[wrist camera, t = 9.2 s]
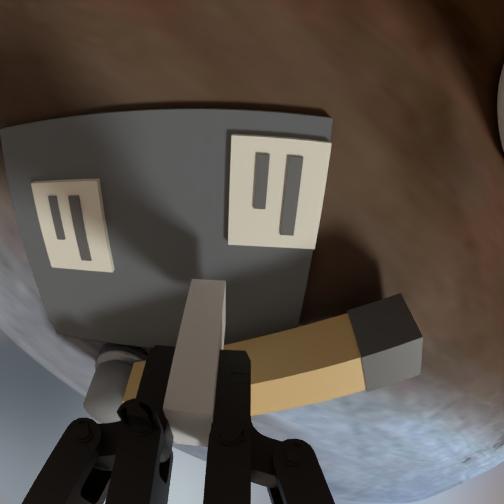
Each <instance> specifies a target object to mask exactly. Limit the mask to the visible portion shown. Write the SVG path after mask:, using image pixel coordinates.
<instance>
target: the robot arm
mask: <svg viewBox="0 0 504 504" xmlns="http://www.w3.org/2000/svg"><path fill="white" fill-rule="evenodd" d="M225 325H226V281H224V280H206V279H192V281H191V285H190V289H189V293H188V297H187V301H186V305H185V309H184V313H183V318H182V322H181V326H180V330H179V335H178V339H177V344H176V347H173V346H163V345H155V346H154V347H153V349H152V350H151V351H150V352H149V353H148V355H147V359H146V362H145V367H144V369H143V373H142V377H141V380H140V384H139V388H138V391H137V395H136V398H133V399H130V400H127V401H125V402H124V403H122V404H121V405H120V406H119V408H118V410H117V414H118V416H119V418H120V419H121V420H120V421H117V422H111V423H102V424H97V423H96V422H95V421H93V420H92V419H89V418H78V419H76V420H74V421H73V422H72V423H71V424H70V425H69V426H68V427H67V429H66V430H65V432H64V434H63V435H62V437H61V438H60V440H59V442H58V443H57V445H56V446H55V448H54V450H53V451H52V453H51V455H50V456H49V458H48V460H47V461H46V463H45V465H44V466H43V468H42V470H41V471H40V473H39V475H38V476H37V478H36V480H35V481H34V483H33V485H32V487H31V488H30V490H29V492H28V494H27V495H26V497H25V499H24V501H23V502H22V504H103V503H104V501H105V499H106V503H105V504H167V502H168V494H169V486H170V478H171V471H172V463H173V452H172V444H173V439H174V442H175V443H177V444H185V445H195V446H206V447H208V452H207V465H206V475H205V488H204V500H203V504H251V503H250V501H251V482H253V483H256V484H259V485H262V486H266V487H267V490H268V493H269V496H270V499H271V502H272V504H335V503H334V500H333V498H332V495H331V493H330V490H329V488H328V485H327V483H326V480H325V478H324V475H323V473H322V470H321V467H320V465H319V462H318V460H317V457H316V455H315V452H314V450H313V449H312V447H311V446H310V445H309V444H308V443H306V442H305V441H303V440H299V439H287V440H285V441H278V440H275V439H272V438H268V437H266V436H264V435H262V434H260V433H259V432H258V431H257V430H256V429H255V428H254V427H253V424H252V422H251V360H250V358H249V356H248V354H247V352H246V351H242V350H223V348H224V336H225Z"/></svg>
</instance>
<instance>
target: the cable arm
mask: <svg viewBox="0 0 504 504" xmlns="http://www.w3.org/2000/svg"><path fill="white" fill-rule="evenodd" d="M422 342H423V337H422V335H421V332H420V330H419V328H418V326H417V324H416V322H415V320H414V318H413V316H412V314H411V312H410V310H409V308H408V306H407V304H406V303H405V301H404V299H403V297H402V295H401V293H400V294H397V295H394V296H391V297H388V298H385V299H382V300H379V301H376V302H372V303H369V304H366V305H363V306H360V307H356V308H353V309H350V310H347V313H346V314H343V315H339V316H336V317H333V318H329V319H326V320H322V321H319V322H315V323H311V324H308V325H304V326H300V327H297V328H293V329H289V330H285V331H281V332H278V333H274V334H270V335H266V336H262V337H258V338H253V339H249V340H245V341H241V342H236V343H232V344H227V345H224V348H223V350H242V351H246V352H247V354H248V356H249V358H250V360H251V416H253V415H259V414H265V413H270V412H276V411H281V410H286V409H291V408H296V407H300V406H305V405H309V404H314V403H318V402H322V401H326V400H330V399H334V398H338V397H342V396H345V395H349V394H353V393H356V392H360V391H363V390H367V392H369V391H372V390H375V389H378V388H382V387H385V386H388V385H391V384H394V383H397V382H400V381H403V380H406V379H408V378H411V377H414V376H417V375H420V370H421V357H422ZM145 362H146V361H140V362H134V364H133V367H132V366H130V365H128V364H125V363H121V362H116V361H106V362H102V363H100V364H99V365H98V366H97V369H96V371H95V374H94V376H93V379H92V382H91V384H90V387H89V390H88V392H87V395H86V398H85V401H84V408H85V410H86V411H87V412H88V413H89V415H91V416H92V417H93V418H95V419H96V420H98V421H99V422H101V423H111V422H117V421H120V420H121V419H120V418H119V416H118V414H117V410H118V408H119V406H120V405H121V404H122V403H124V402H125V401H127V400H130V399H133V398H136V395H137V391H138V388H139V384H140V380H141V377H142V373H143V369H144V367H145Z"/></svg>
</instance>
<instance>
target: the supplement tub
mask: <svg viewBox="0 0 504 504" xmlns="http://www.w3.org/2000/svg"><path fill="white" fill-rule="evenodd" d="M497 116H498V127H499V134H500V139H501V143H502V148H503V151H504V65H503V68H502V71H501V76H500V80H499V87H498V97H497Z"/></svg>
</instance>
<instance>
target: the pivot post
mask: <svg viewBox="0 0 504 504" xmlns="http://www.w3.org/2000/svg"><path fill="white" fill-rule="evenodd" d="M147 355H148V353H147V352H145V351H144V350H142V349H140V348H138V347H136V346H131V345H123V344H116V343H108V344H106V345H105V346H103V347H102V349H101V351H100V353H99V356H98V358H97V361H96V364H95V368H96V369H97V366H98V365H99V364H100V363H102V362H106V361H116V362H121V363H125V364H128V365H130V366H132V367H133V364H134V362H140V361H146V359H147Z"/></svg>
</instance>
